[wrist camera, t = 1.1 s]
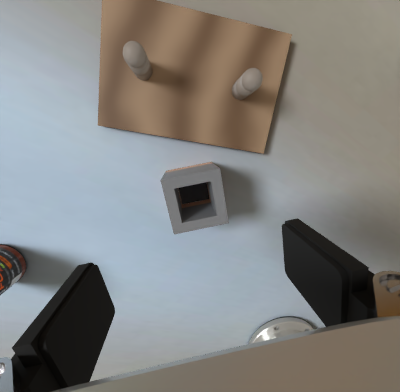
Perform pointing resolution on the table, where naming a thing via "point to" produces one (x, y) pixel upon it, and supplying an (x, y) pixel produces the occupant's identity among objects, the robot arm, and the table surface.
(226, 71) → the pin board
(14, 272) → the supplement bottle
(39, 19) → the table surface
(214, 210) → the sleeve
